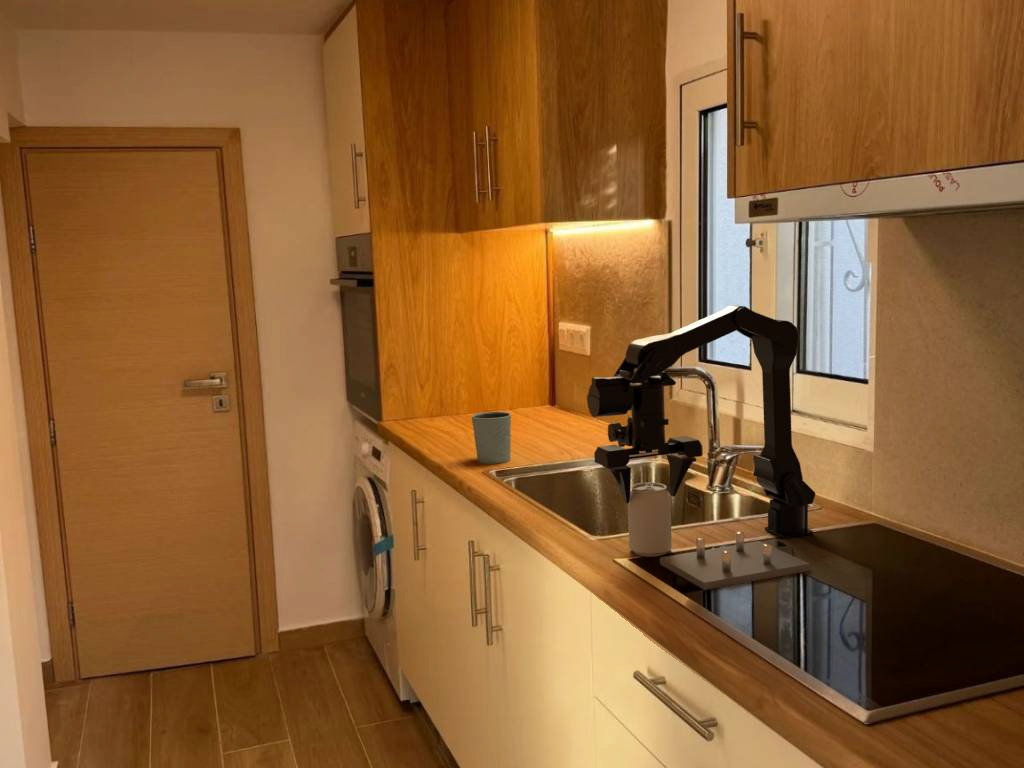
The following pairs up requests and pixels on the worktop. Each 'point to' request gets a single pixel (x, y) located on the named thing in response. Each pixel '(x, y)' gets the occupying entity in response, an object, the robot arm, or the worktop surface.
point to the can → (649, 519)
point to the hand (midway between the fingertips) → (649, 499)
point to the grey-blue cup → (492, 437)
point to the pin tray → (733, 563)
